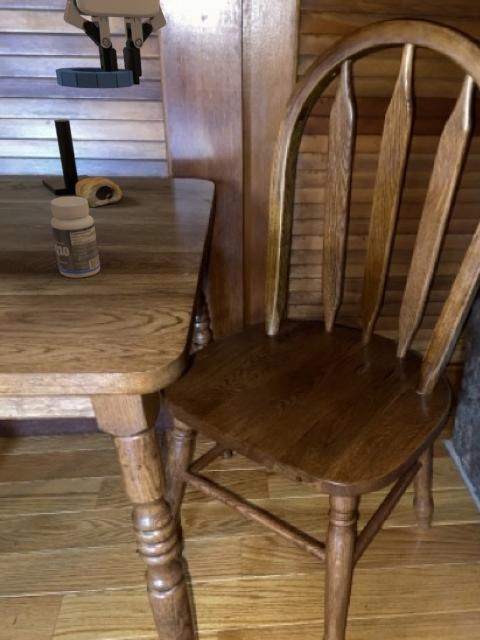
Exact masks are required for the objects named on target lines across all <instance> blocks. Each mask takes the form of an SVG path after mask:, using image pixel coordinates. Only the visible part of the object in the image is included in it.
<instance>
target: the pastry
mask: <svg viewBox="0 0 480 640" xmlns="http://www.w3.org/2000/svg"><path fill="white" fill-rule="evenodd" d="M75 194H76V197H82V198H85V199H87V201H88V206H89V207H90V208H91V207H92V208H96V207H103V206H106V205H108V204H115V203H118V202H120V200H121V199H122V197H123V191H122V190H121V188H120V186H119V185H118V184H116V183H115V182H114V181H112V180H111V179H110V178H106V177H101V176H98V177H97V176H94V177H91V178H86V179H83V180H81V181H79V182H77V183H76V193H75Z"/></svg>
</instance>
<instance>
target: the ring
mask: <svg viewBox="0 0 480 640" xmlns="http://www.w3.org/2000/svg"><path fill="white" fill-rule="evenodd" d="M55 76H56V82H57V85H58V86H61V87H66V88H75V89H99V90H101V89H121V88H122V89H124V88H130V87H132V86H135V85H134V81H133V71H132V70H127V69H125V68H118V71H116V72H101V66H100V67H97V66H83V67H82V66H76V67H73V66H72V67H60V68H56V69H55Z"/></svg>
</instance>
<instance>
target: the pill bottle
mask: <svg viewBox="0 0 480 640" xmlns="http://www.w3.org/2000/svg"><path fill="white" fill-rule="evenodd" d="M50 212H51V215H52V216H53V217H52V218H51V220H50V229H51V232H52V238H53V245H54V249H55V250H54V251H55V256H56V261H57V267H58V271H59V273H60V274H61V275H62V276H64V277H66V278H71V279H72V278H73V279H79V278H86V277H91V276H94V275H96V274H97V273H99V272H100V270H101V263H100V256H99V255H100V254H99V249H98V248H99V247H98V242H97V241H98V240H97V235H96V233H97V232H96V227H95V220H94V218H93V217H92V216H91V215H90V206H88V201H87V199H85V198H82V197H78V196H60V197H59V196H58V197H56V198H53V199H52V200H50Z"/></svg>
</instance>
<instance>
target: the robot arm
mask: <svg viewBox="0 0 480 640" xmlns="http://www.w3.org/2000/svg"><path fill="white" fill-rule="evenodd" d="M83 16H84V17H83ZM85 16H87V17H90V20H89V19H86V18H85ZM109 18H123V22H124V31H125V46H124V47H123V48H122V57H123V65H124V66H123V67H124V69H127V70H132V71H133V81H134V85H133V86H140V84H141V82H140V81H141V80H140V79H141V77H142V76H143V69H142V57H141V49H142V48H143V47H144V43H145V42H146V41H147V39H148V38H149V37H150V36H151V34H152V33H154V32H156V31H158V30H160V29H162V28H163V27H165V26H166V24H167V20H166V17H165V15H164V12H163V9H162V7H161V4H160V0H66V4H65V9H64V12H63V21H64V22H65V23H66V24H68V25H69V26H72V27H74V28H76V29H78V30H80V31H83V32H84V34H85V35H86V36H87V37H89V39H90V40H91V41H92V42H93V43H94V45H95V46H96V47H98V55H99V65H100V68H101V72H116V71H118V69H119V64H118V55H117V49H116V48H115V47H113V42H112V39H111V28H110V19H109ZM142 19H147V20H145V21H143V20H142ZM142 21H143V22H142Z"/></svg>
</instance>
